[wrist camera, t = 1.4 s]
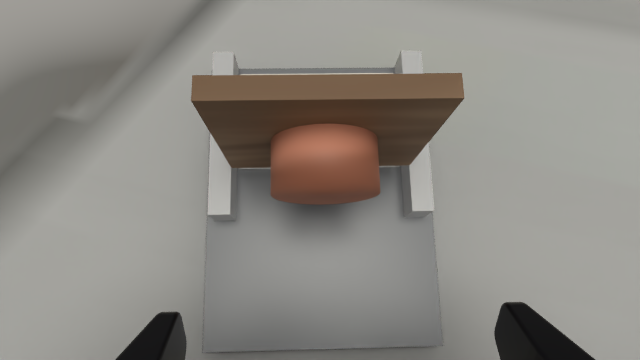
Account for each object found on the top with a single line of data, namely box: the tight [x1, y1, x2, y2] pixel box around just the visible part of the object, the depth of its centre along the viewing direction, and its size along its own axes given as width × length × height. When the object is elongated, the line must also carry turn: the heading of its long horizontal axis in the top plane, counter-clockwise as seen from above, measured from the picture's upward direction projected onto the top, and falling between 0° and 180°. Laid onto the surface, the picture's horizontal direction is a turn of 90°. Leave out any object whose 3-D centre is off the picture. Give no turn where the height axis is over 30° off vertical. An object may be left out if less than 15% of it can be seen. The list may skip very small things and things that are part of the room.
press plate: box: [191, 73, 464, 205], centre depth 17 cm, size 3×8×8 cm, turn 91°
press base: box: [202, 50, 443, 353], centre depth 23 cm, size 14×11×3 cm
